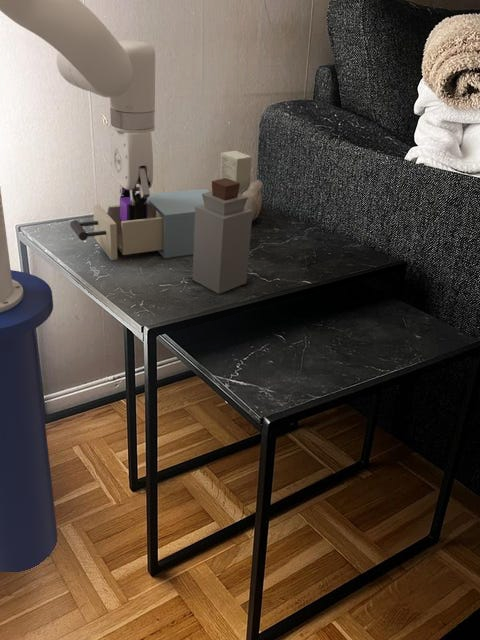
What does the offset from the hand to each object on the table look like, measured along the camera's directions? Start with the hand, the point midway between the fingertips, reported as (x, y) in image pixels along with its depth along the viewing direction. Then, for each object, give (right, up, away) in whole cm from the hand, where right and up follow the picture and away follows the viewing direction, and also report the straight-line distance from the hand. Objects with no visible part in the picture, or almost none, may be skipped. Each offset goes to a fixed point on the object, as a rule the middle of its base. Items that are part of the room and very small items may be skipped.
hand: (133, 219), depth 114 cm
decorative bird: (+21, +2, +20) cm, 29 cm away
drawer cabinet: (+9, -3, +8) cm, 12 cm away
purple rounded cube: (0, 0, 0) cm, 0 cm away
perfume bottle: (+16, -12, -6) cm, 21 cm away
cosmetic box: (+18, +7, +28) cm, 34 cm away
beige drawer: (-2, -5, +2) cm, 6 cm away
